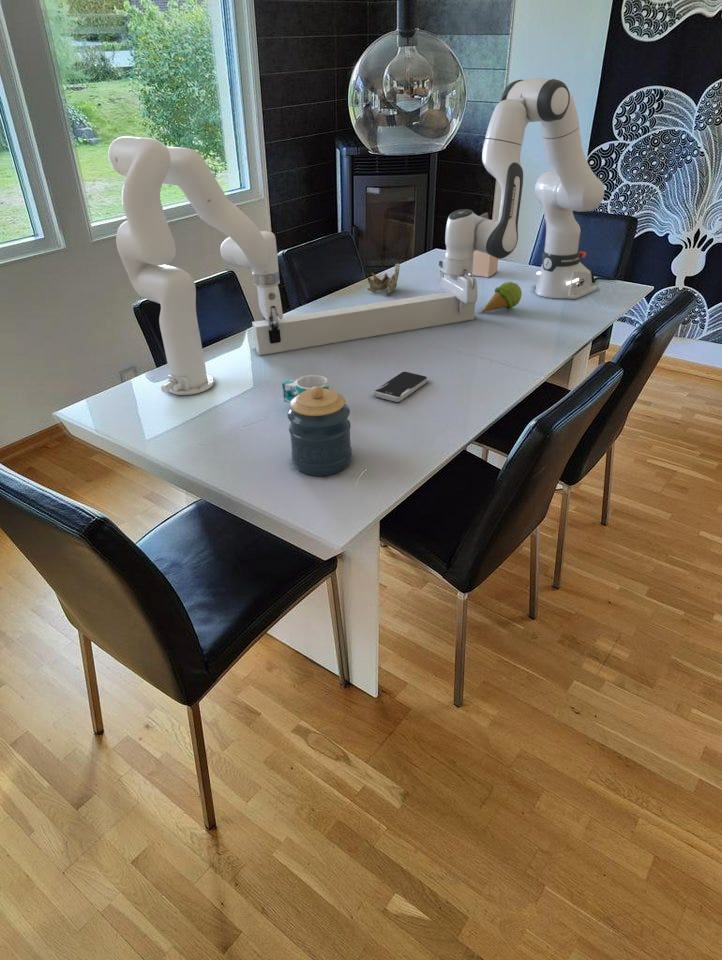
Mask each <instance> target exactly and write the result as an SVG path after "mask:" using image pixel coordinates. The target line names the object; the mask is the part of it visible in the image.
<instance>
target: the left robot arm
mask: <svg viewBox="0 0 722 960" xmlns="http://www.w3.org/2000/svg"><path fill="white" fill-rule="evenodd" d="M107 157H108V161H109V164H110V165H111V166H110V167H112V169H113V170H114V171H115V172H116V173H117V174H119V175H120V176H123V177H125V179H124V182H123V186H122V190H121V204H122V208H123V211H124V214H125V218H126V220H125V221H123V222H122V223H121V224H120V226H119V227H118V229H117V230H116V235H115V243H116V248H117V253H118V255H119V257H120V259H121V263H122V264H123V267H124V269H125V271H126V274H127V277H128V279H129V281H130V283H131V285H132V287H133V288H134V290H135V292H136V293H137V294H138V295H139V296H140V297H142V298H143V299H145V300H148V301H150V302H154V303H157V304H160V312H159V318H158V322H159V329H160V330H159V331H160V333H161V339H162V344H163V348H164V354H165V358H166V363H167V368H168V373H169V374H168V375H167V378H168V380H167V381H166V383H164V384H163V385H162V386H161V387H160V390H161V391H162V393H171V394H173V395H176V396H177V395H178V396H190V395H197V394H201V393H203V392H206V391H208V390H210V389H211V388H212V387H213V385H214V383H215V380H214V377H213V376H212V375H211V374H209V373H207V368H206V362H205V356H204V351H203V345H202V340H201V333H200V327H199V322H198V316H197V304H196V303H197V289H196V282H195V280H194V279H193V277H192V276H191V275H190V273H188V272H187V271H185V270H184V269H182V268H179V267H177V266H173V265H169V264H170V263H171V262H172V261H174V259H175V258H176V254H177V248H176V243H175V239H174V237H173V234H172V231H171V228H170V226H169V222H168V220H167V217H166V214H165V212H164V208H163V204H162V200H161V190H162V186H163V184H165V185H172V186H177V187H178V188H179V189H180V190H181V192H182V193H183V194H184V196H185V197H186V199H187V200H188V202H189V203H190V205H191V206H192V208H193V210H194V211H195V213H196V214H197V216H198V217H199V218H200V219H201V220H202V222H205V224H207V225H209V226H210V227H212V228H214V229H216V230H218V231H220V232H221V233H223V234H224V235H226V236H227V238H226V239H224V241H222V242H221V245H220V249H219V251H220V256H221V258H222V259H223V260H224V262H226V263H227V264H230V265H232V266H237V267H240V268H245V269H250V270H251V274H252V281H253V286H255V287H256V290H257V299H258V300H257V301H258V306H259V312H260V314H261V315H262V317H263V320H267V321H268V323H269V329H270V330H269V339H270V343H271V344H272V343H278V342H281V337H280V329H279V322H278V318H280V319H282V318H283V317H284V313H283V307H282V300H281V293H280V288H279V284H280V283H281V278H280V269H279V257H278V249H277V248H278V247H277V239H276V235H275V234H274V233H273V232H272V231H269V230H260V229H259V227H257V225H256V224H255V223H254V221H253V220H252V219H251V218H250V217H249V216H247V214H245V213H244V212H243V211H242V210H241V209H240V208H239V207H238V206H237V205H236V204H234V203H233V202H232V201H231V200H230V199H229V198H228V197H227V195H226V194H225V192H224V190H223V189H222V187H221V185H220V184H219V182H218V181H217V179H216V177H215V176H214V174H213V172H212V171H211V169H210V167H209V166H208V165H207V163H206V161H205V159H204V157H203V156H202V155H201V153H199V152H198V151H196V150H195V149H193V148H188V147H178V146H167V145H165V144H164V143H163V142H161V141H160V140H157V139H155V138H151V137H142V136H141V137H139V136H119V137H117V138H116V139H114V140H113V141H112V142H111V143H110V144H109V147H108V151H107ZM272 321H273V323H272V324H271V322H272Z"/></svg>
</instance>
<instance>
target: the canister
mask: <svg viewBox="0 0 722 960" xmlns="http://www.w3.org/2000/svg"><path fill="white" fill-rule="evenodd" d="M289 404H290V408H289V409H288V411H287V419H288V421H289V422H290V424H289V426H288V432H289V435H290V446H291V460H292V462H293V465H294V467H295V468H296V470H298V471H299V472H301V473H303V474H305V475H311V476H328V475H329V476H330V475H334V474H338V473H339V472H341V471H343V470H345V469H346V468H347V467H349V465H350V463H351V461H352V457H353V449H352V445H351V443H352V442H351V421H350V420H349V416H350V414H351V409H350V407H349V406H348V404H346V399H345V396H343V395H342V394H340V393H338V392H337V391H335V390H333V389H330V388H329V389H324V388H321V387H320V386H314V387H313V388H312V389H310V390H306V391H304V392H302V393H300V394H299V395H298V396H296V397H295V398H293V399H292V401H291V403H289Z"/></svg>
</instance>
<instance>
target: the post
mask: <svg viewBox="0 0 722 960" xmlns="http://www.w3.org/2000/svg"><path fill="white" fill-rule="evenodd" d="M458 307H460V300H459V299H457V298H456V296H455V295H453V294H452V293H450V292H446V291H445V292H438V293H432V294H425V295H419V296H413V297H405V298H399V299H391V300H386V301H380V302H373V303H367V304H361V305H354V306H348V307H340V308H336V309H328V310H321V311H316V312H309V313H301V314H294V315H289V316H283V318H282V319H280V318H279V317H278V322H279V329H280V337H281V342H278V343H272V344H271V343H270V339H269V330H270V329H269V323H268V321H267V320H264V319H263V320H255V321H252V322H251V323H252V324H251V325H252V333H253V339H254V348H255V351H256V353H257V354H258V355H259V356H263V355H270V354H276V353H282V352H288V351H294V350H299V349H300V350H301V349H305V348H311V347H317V346H324V345H329V344H330V345H331V344H335V343H341V342H346V341H347V342H349V341H353V340H359V339H363V338H371V337H377V336H383V335H388V334H389V335H390V334H395V333H402V332H407V331H413V330H419V329H424V328H431V327H436V326H442V325H449V324H455V323H459V322H460V323H461V322H466V321H471V320H475V315H476V303H473V304H467V305H466V307H465V313H459V312H458ZM272 323H273V321H272V322H271V324H272Z"/></svg>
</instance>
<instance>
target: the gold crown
mask: <svg viewBox="0 0 722 960" xmlns="http://www.w3.org/2000/svg"><path fill="white" fill-rule="evenodd" d="M400 265H401V264H400V263H395V265H394V271H393V274H392V275H391V276H390V277H389V276H388V273H384V275H383V277H382V279H380V278H379V277H377V275H375V274H374V272H370V274H371V275H372V276H373V279H372V278H371V276H368V278H367V282H368V284H369V288H367V291H370V292H372V293H376V292H378V291H383V290H387V295H388V296H389V295H390V294H391V293H392V292H393V291H395V289H396V288H397V286H398V279H399V274H400Z"/></svg>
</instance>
